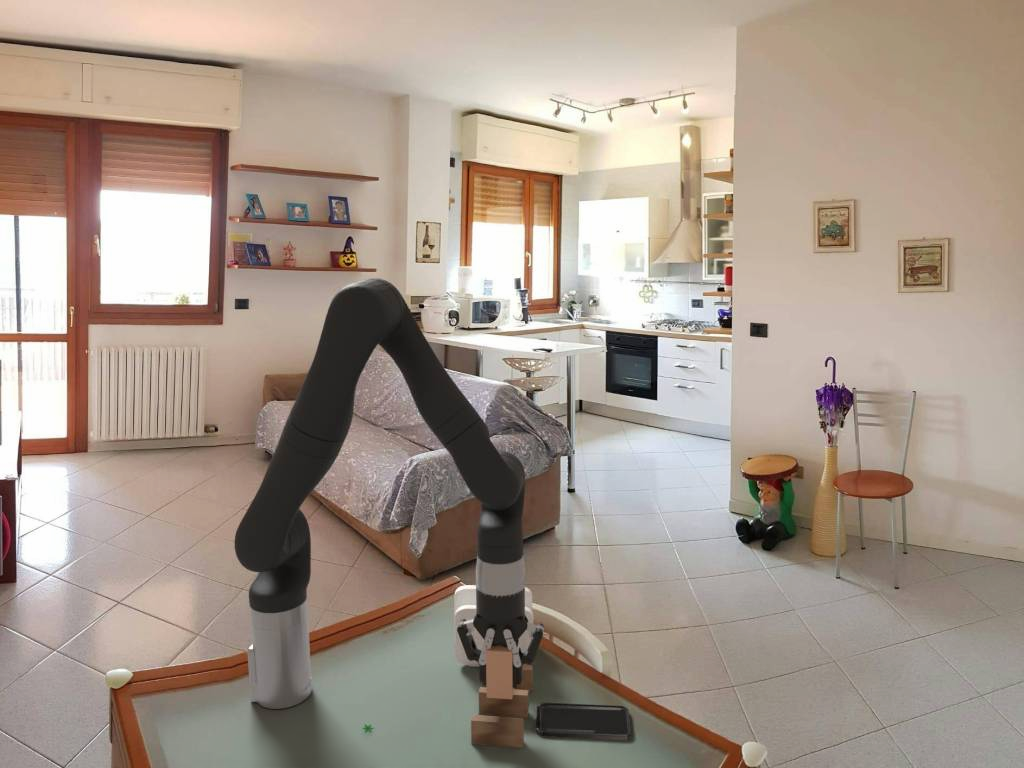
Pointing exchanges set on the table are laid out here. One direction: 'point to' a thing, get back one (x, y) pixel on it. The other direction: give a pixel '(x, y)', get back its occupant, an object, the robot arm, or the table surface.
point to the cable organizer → (467, 611)
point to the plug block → (499, 672)
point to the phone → (583, 721)
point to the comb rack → (503, 728)
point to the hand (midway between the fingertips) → (501, 683)
